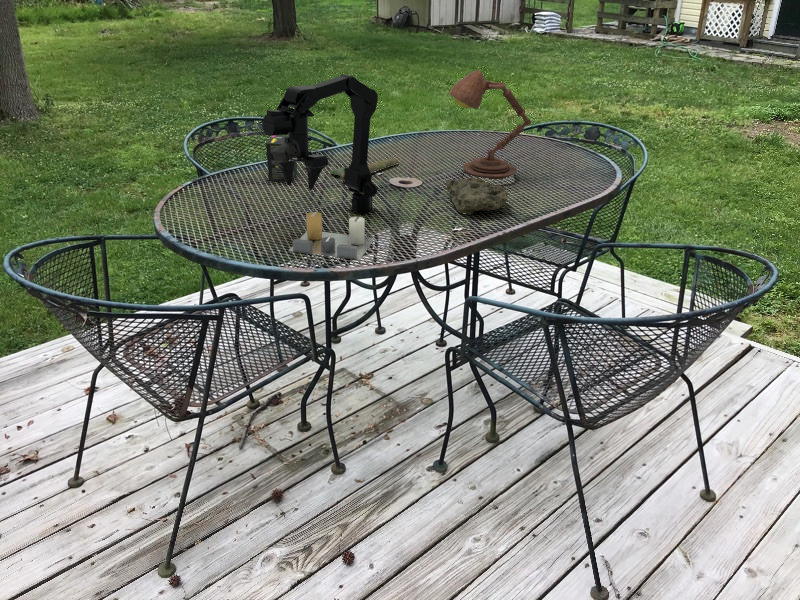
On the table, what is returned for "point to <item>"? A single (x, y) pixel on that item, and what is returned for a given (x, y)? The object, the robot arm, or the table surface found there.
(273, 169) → the tampon box
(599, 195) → the table surface
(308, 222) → the orange knob
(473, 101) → the desk lamp
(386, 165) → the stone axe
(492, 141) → the table surface
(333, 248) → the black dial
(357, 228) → the cream knob
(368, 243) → the console plate
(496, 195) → the stone
